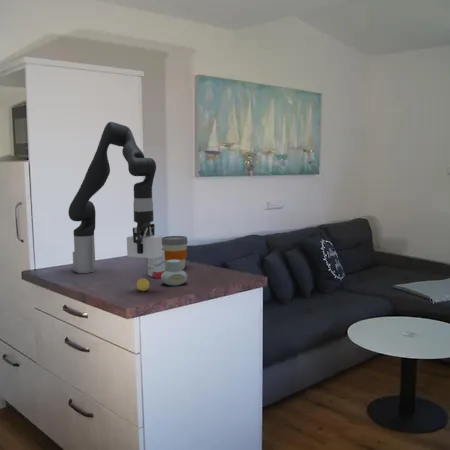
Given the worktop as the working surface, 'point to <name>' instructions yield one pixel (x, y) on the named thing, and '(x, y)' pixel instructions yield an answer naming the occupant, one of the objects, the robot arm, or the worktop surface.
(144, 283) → the ball
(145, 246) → the white rectangular block
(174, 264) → the air freshener
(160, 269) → the ink box
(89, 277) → the worktop surface
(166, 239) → the reusable coffee cup
